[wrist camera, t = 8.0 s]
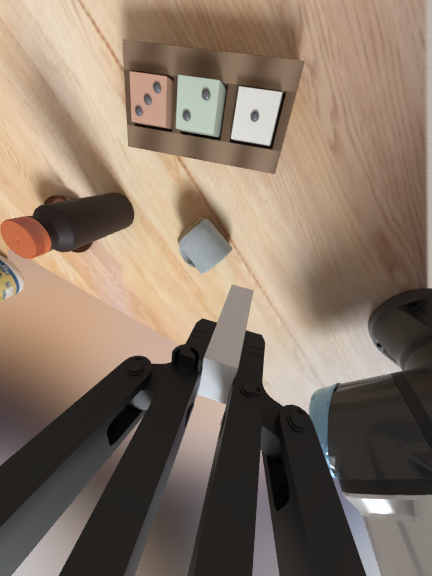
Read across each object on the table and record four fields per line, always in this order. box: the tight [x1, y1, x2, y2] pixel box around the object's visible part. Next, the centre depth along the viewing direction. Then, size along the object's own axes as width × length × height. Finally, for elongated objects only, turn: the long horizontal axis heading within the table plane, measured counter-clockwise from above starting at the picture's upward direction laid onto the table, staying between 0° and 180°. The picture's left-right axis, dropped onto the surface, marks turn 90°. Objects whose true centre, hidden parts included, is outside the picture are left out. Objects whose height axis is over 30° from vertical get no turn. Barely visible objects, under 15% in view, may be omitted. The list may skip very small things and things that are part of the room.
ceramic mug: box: [178, 217, 232, 274], centre depth 39 cm, size 10×8×7 cm
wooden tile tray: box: [123, 40, 304, 174], centre depth 30 cm, size 22×11×5 cm, turn 81°
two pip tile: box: [176, 75, 226, 138], centre depth 27 cm, size 5×5×4 cm
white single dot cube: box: [231, 86, 282, 147], centre depth 27 cm, size 5×5×4 cm
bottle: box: [1, 193, 134, 259], centre depth 35 cm, size 7×7×20 cm
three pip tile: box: [129, 71, 174, 130], centre depth 29 cm, size 5×5×4 cm
